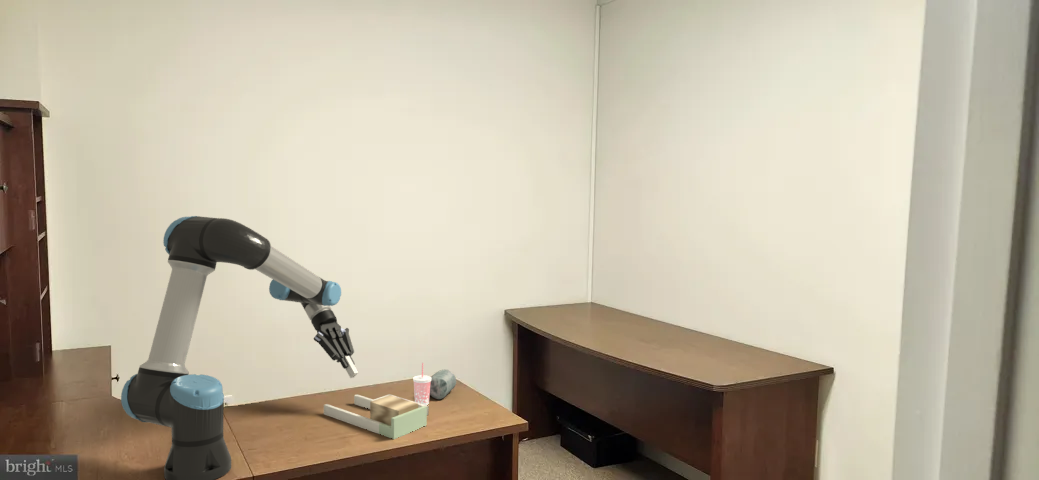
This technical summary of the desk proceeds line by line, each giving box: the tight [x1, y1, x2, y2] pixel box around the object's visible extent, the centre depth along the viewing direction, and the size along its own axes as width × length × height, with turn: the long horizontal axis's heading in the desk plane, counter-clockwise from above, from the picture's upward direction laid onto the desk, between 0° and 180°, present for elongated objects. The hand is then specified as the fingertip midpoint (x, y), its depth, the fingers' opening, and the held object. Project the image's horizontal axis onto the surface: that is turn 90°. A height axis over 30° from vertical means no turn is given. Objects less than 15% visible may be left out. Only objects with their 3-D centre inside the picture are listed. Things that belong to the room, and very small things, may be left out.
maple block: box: [369, 394, 418, 426], centre depth 201 cm, size 12×8×8 cm, turn 54°
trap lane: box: [323, 393, 429, 440], centre depth 208 cm, size 31×20×6 cm, turn 54°
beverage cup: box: [412, 362, 432, 406], centre depth 220 cm, size 6×6×14 cm
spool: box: [430, 369, 457, 400], centre depth 231 cm, size 14×10×10 cm
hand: (354, 375), depth 211 cm, fingers closed
